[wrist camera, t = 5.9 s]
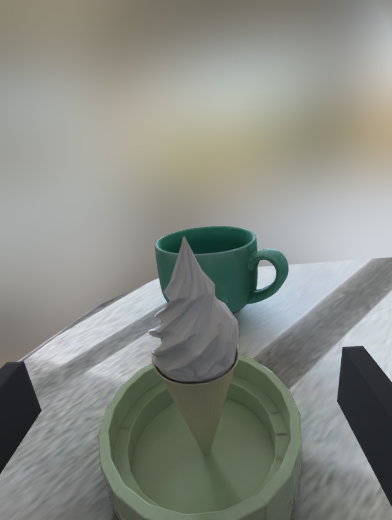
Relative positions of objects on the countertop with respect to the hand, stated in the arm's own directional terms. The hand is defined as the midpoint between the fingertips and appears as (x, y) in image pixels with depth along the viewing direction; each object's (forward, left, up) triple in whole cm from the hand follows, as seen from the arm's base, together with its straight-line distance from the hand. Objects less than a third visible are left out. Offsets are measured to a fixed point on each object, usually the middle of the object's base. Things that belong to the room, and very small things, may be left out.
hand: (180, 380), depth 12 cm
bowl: (+2, -4, -10) cm, 11 cm away
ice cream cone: (+2, -4, -10) cm, 11 cm away
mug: (+10, -21, -11) cm, 26 cm away
